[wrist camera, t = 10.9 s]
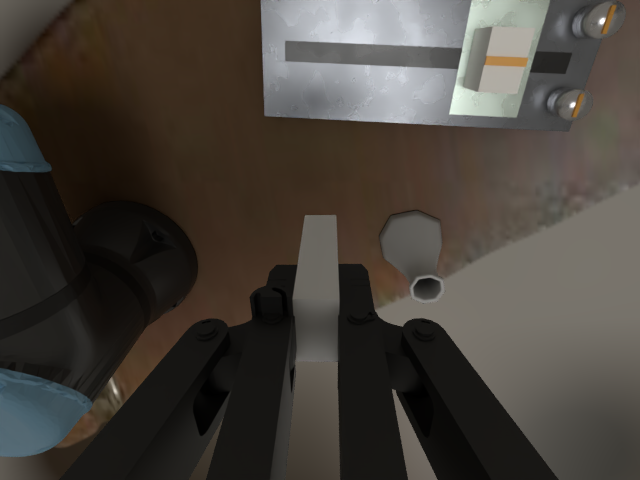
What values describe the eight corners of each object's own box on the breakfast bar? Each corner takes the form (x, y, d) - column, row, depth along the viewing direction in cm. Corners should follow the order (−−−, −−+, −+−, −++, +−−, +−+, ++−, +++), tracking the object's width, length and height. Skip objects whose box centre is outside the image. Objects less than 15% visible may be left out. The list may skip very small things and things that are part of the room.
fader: (463, 87, 31) (478, 92, 28) (475, 29, 29) (493, 26, 26) (498, 88, 31) (518, 94, 28) (512, 30, 29) (536, 27, 25)
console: (268, 112, 36) (258, 120, 31) (264, -24, 30) (252, -35, 26) (557, 127, 34) (585, 137, 30) (604, -12, 29) (646, -22, 25)
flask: (383, 206, 39) (394, 251, 31) (449, 212, 39) (479, 259, 30) (374, 261, 43) (381, 316, 34) (434, 267, 43) (457, 324, 34)
